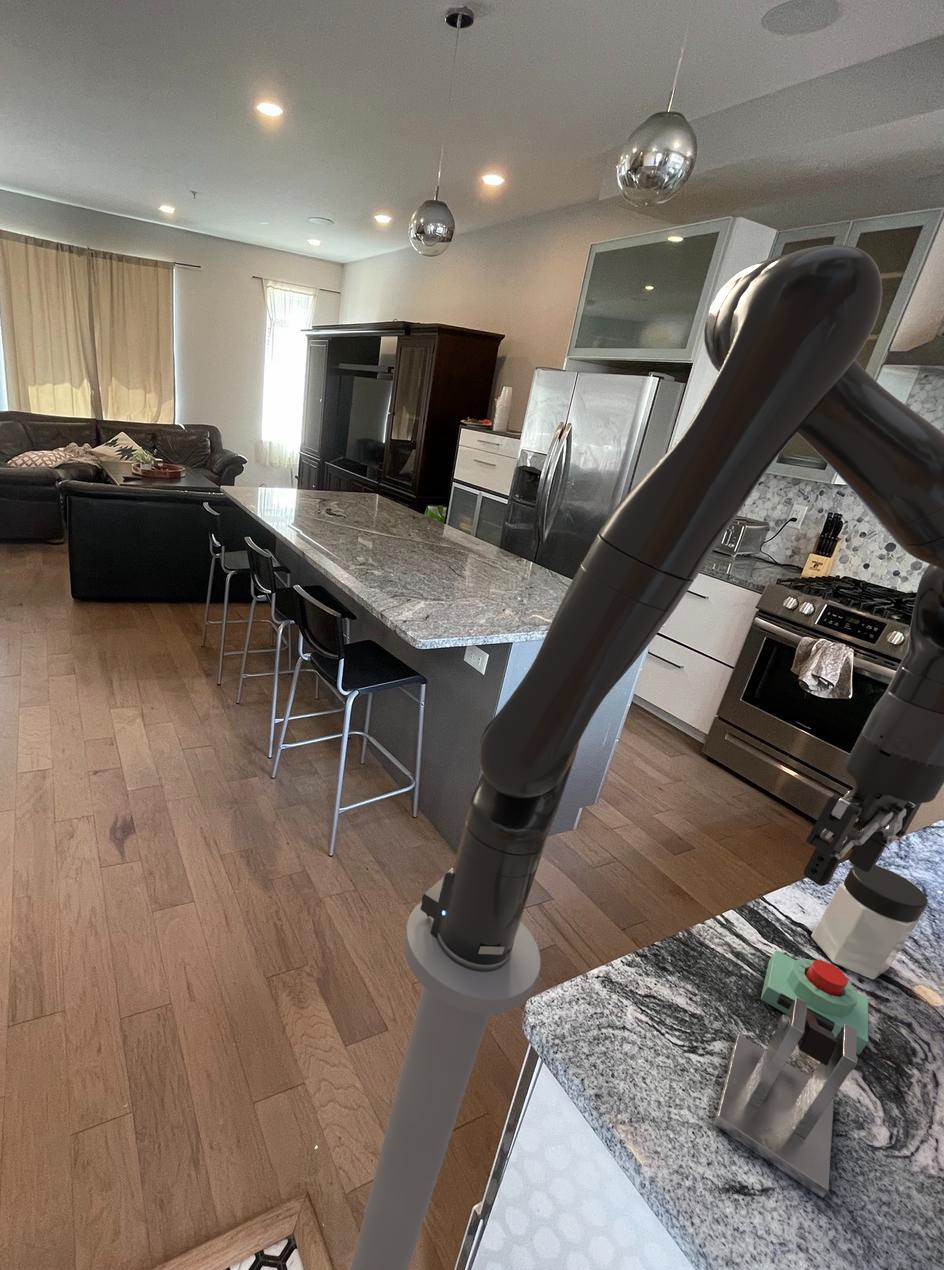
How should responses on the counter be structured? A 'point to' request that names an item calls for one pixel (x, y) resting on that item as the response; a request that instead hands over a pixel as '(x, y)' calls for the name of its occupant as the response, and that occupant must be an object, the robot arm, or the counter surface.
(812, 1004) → the button block
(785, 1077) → the bracket
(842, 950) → the jar
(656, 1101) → the counter surface
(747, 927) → the counter surface
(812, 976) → the button
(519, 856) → the robot arm
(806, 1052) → the lever
